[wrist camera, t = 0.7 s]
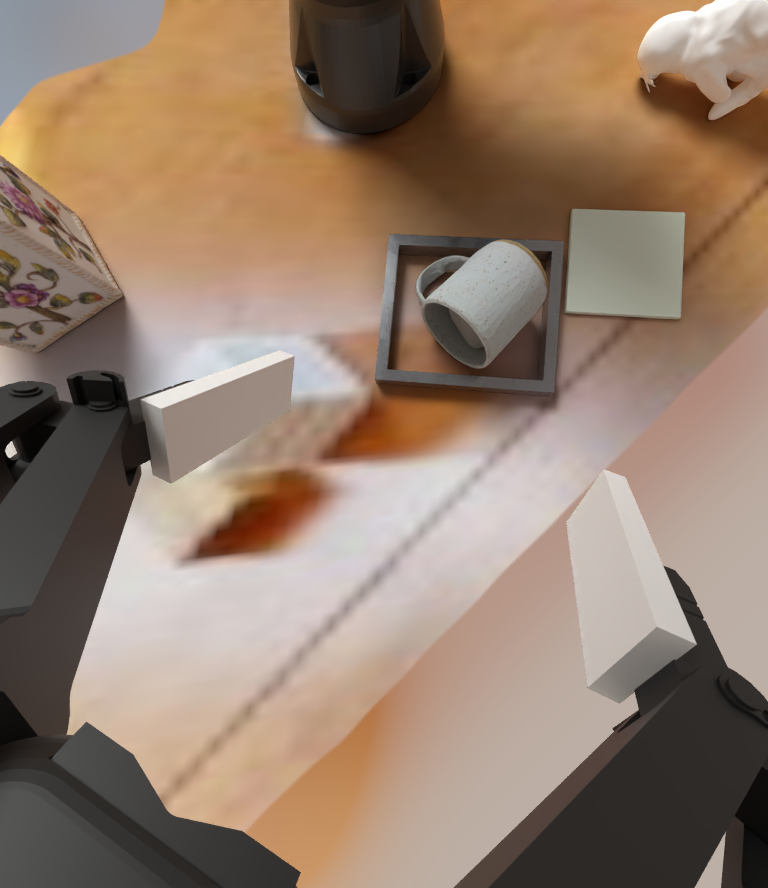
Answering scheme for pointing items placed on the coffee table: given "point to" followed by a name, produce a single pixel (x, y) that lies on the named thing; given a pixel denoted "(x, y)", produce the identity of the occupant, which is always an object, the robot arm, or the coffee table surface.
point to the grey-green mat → (625, 263)
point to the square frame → (468, 248)
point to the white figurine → (712, 51)
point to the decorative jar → (45, 266)
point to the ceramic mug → (482, 300)
